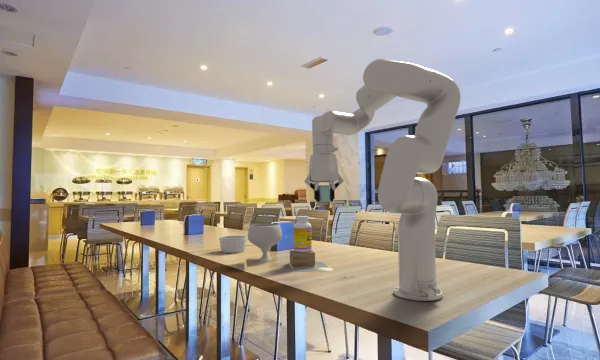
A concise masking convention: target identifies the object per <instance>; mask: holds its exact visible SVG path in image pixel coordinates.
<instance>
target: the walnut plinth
mask: <svg viewBox="0 0 600 360" xmlns="http://www.w3.org/2000/svg"><path fill="white" fill-rule="evenodd" d="M315 262H316V252H315V251H314V250H313V249H312V250H311V251H310V252H295V251H294V249H289V263H290V264H291V266H292V267H293V268H300V267H315ZM291 266H290V267H291Z"/></svg>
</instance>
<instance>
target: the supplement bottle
mask: <svg viewBox="0 0 600 360" xmlns="http://www.w3.org/2000/svg"><path fill="white" fill-rule="evenodd" d="M295 219H296V223H294V224H293V250H294V251H295V252H310V251H311V250H312V251H313V249H312V240H313V239H312V235H313V234H312V224H311V223H310V222H309V219H310V216H308V215H296V216H295Z"/></svg>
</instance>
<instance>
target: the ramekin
mask: <svg viewBox="0 0 600 360" xmlns="http://www.w3.org/2000/svg"><path fill="white" fill-rule="evenodd" d="M218 240H219V246H220V247H219V248H220V250H221V252H222V253H226V254H238V253H243V252H245V250H246V248H247V242H248V241H247V240H248V235H223V236H220V237H219V238H218Z"/></svg>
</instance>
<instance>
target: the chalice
mask: <svg viewBox="0 0 600 360" xmlns="http://www.w3.org/2000/svg"><path fill="white" fill-rule="evenodd" d="M282 239H283V231H282V228H281V225H280V224H279V223H253V224H250V226H249V227H248V231H247V240H248V241H249V243H251V244H252V245H254V246H255V247H257V248H259V249H260V250H261V252H262V255H261V257H260V258H257V261H265V262H266V261H272V260H273V258H272V257H269V254H268V252H269V250H270V249H271V248H272V247H274V246H275V245H276V244H278V243H280V242H281V240H282Z"/></svg>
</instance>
